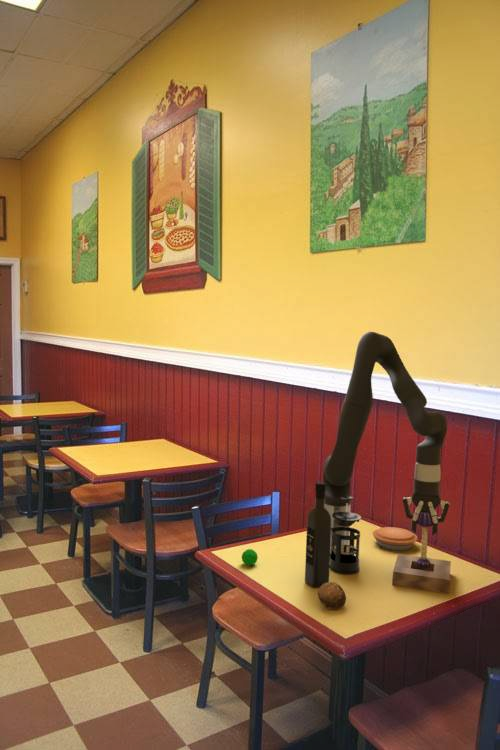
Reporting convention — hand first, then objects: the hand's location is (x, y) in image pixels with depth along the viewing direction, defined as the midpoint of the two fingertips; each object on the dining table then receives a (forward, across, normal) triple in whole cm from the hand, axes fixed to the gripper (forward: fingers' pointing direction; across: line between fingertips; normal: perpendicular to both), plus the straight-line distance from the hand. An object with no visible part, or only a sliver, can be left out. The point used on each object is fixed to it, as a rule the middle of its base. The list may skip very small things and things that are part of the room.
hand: (424, 533), depth 185 cm
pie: (+15, -11, +28) cm, 33 cm away
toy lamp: (+10, 0, 0) cm, 10 cm away
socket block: (+14, 0, 0) cm, 14 cm away
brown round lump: (+14, -22, -29) cm, 39 cm away
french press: (+14, -24, -1) cm, 28 cm away
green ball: (+14, -52, -10) cm, 55 cm away
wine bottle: (+14, -29, -16) cm, 36 cm away
